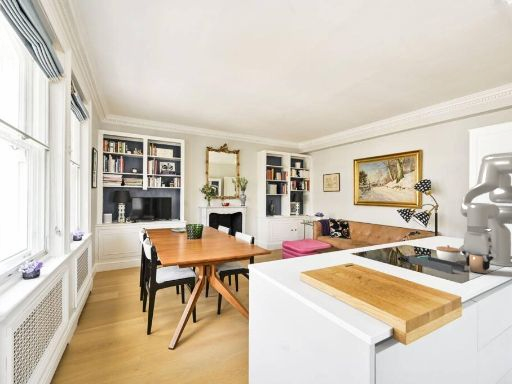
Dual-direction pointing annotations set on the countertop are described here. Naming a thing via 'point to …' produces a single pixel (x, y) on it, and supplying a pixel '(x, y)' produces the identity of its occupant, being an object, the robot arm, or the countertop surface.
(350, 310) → the countertop surface
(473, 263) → the jar
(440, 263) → the lane
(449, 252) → the lidded jar
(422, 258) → the pusher
